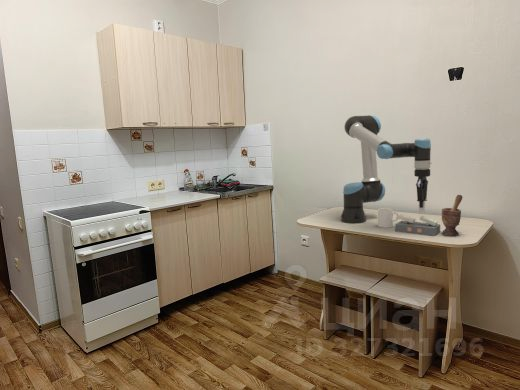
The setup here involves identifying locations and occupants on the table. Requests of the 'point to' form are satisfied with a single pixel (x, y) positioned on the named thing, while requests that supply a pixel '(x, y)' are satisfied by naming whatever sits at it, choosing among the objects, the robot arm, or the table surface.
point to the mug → (386, 217)
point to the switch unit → (417, 228)
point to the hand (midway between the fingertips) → (421, 213)
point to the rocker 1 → (407, 218)
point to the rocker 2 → (428, 220)
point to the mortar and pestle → (452, 218)
